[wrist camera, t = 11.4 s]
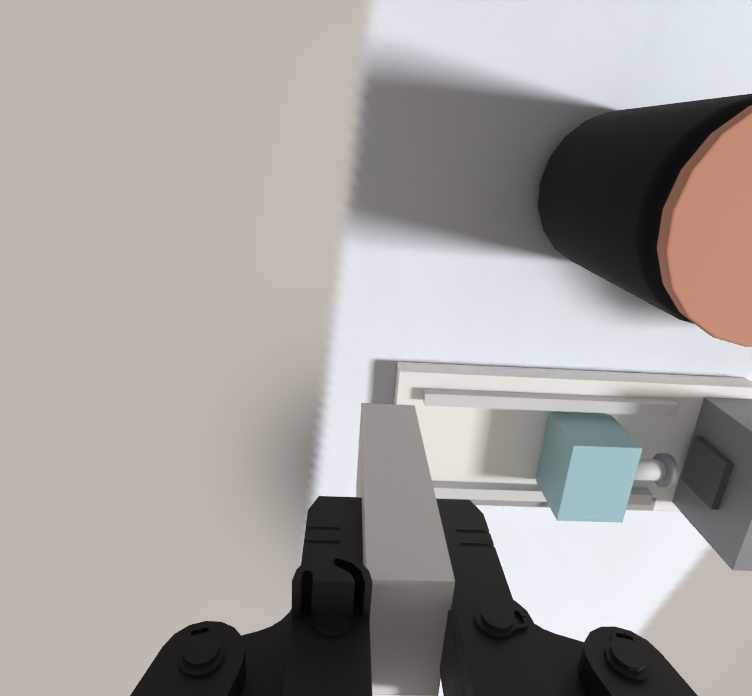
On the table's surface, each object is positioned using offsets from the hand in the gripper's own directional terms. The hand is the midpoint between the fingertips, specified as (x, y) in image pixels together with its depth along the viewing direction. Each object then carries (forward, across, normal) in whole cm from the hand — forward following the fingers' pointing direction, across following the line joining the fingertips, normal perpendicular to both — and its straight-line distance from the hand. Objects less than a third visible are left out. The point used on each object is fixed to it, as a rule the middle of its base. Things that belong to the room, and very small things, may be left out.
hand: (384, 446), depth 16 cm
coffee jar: (+27, +17, +6) cm, 32 cm away
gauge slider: (+24, +20, -15) cm, 35 cm away
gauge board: (+26, +17, -14) cm, 34 cm away
